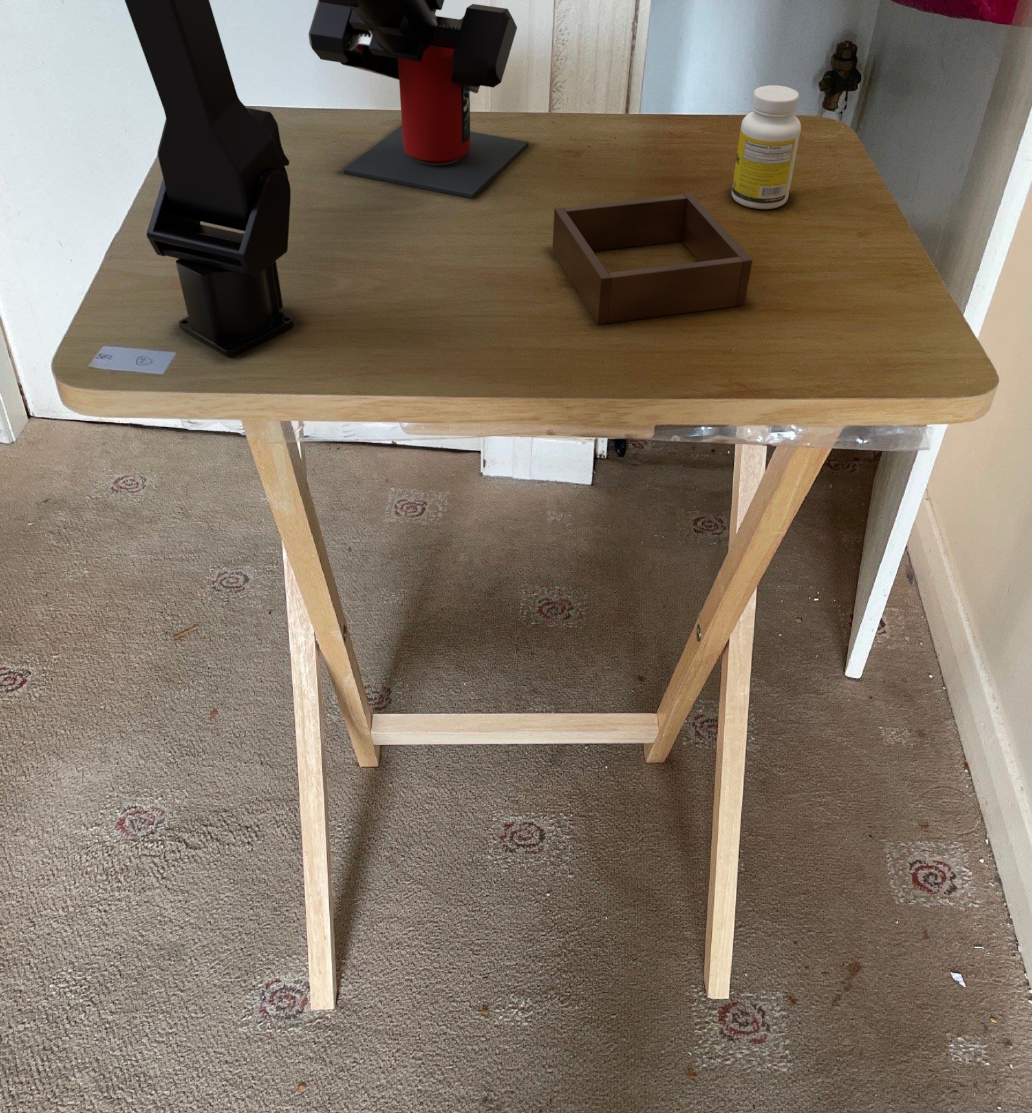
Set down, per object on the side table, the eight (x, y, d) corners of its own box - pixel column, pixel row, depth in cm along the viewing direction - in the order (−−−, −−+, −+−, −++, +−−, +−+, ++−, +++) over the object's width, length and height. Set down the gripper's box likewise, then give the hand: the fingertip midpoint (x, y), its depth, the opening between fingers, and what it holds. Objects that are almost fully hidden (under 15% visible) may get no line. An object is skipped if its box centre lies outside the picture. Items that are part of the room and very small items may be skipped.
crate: (597, 324, 82) (601, 278, 79) (552, 251, 91) (554, 207, 88) (744, 305, 85) (752, 259, 82) (686, 236, 93) (692, 193, 91)
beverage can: (484, 157, 105) (483, 29, 96) (430, 174, 101) (424, 43, 93) (443, 136, 108) (439, 11, 100) (390, 153, 105) (381, 25, 97)
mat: (472, 198, 98) (472, 194, 98) (343, 173, 102) (343, 169, 102) (528, 145, 108) (528, 141, 108) (408, 123, 112) (408, 120, 112)
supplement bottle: (745, 181, 102) (763, 77, 95) (796, 196, 100) (818, 90, 93) (720, 200, 99) (736, 94, 92) (772, 216, 97) (792, 108, 90)
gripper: (509, -97, 84) (554, 15, 99) (309, -119, 89) (380, -10, 104) (470, 36, 84) (520, 127, 99) (272, 6, 89) (348, 97, 104)
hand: (441, 81), depth 101 cm, fingers open, 7 cm apart
